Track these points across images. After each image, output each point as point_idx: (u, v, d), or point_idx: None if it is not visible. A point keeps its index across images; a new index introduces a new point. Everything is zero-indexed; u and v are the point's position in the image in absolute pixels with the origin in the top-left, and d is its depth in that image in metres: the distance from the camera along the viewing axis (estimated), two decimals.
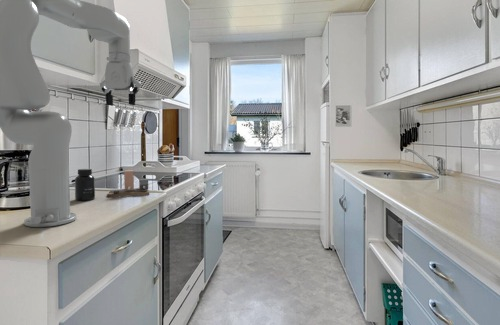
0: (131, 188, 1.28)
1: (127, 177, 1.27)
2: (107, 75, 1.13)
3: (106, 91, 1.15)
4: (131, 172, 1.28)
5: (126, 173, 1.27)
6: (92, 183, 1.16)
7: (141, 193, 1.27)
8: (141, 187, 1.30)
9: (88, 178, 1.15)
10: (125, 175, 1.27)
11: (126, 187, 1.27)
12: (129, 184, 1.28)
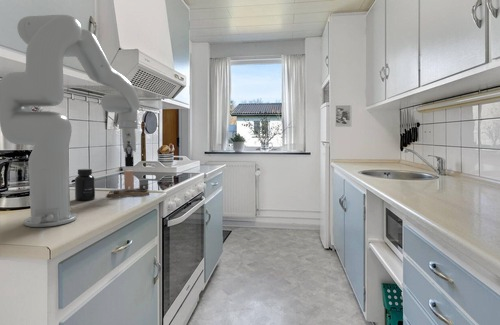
0: (131, 188, 1.28)
1: (127, 177, 1.27)
2: (135, 140, 1.26)
3: None
4: (131, 172, 1.28)
5: (126, 173, 1.27)
6: (92, 183, 1.16)
7: (141, 193, 1.27)
8: (141, 187, 1.30)
9: (88, 178, 1.15)
10: (125, 175, 1.27)
11: (126, 187, 1.27)
12: (129, 184, 1.28)
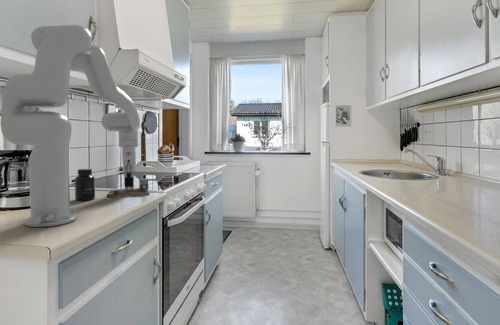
0: (131, 188, 1.28)
1: None
2: (135, 158, 1.26)
3: None
4: None
5: None
6: (92, 183, 1.16)
7: (141, 193, 1.27)
8: (141, 187, 1.30)
9: (88, 178, 1.15)
10: None
11: (126, 187, 1.27)
12: None
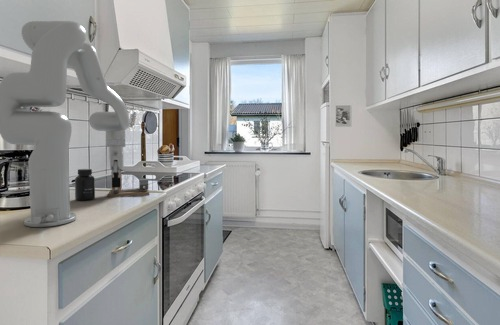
0: (118, 189, 1.26)
1: None
2: (122, 158, 1.24)
3: None
4: None
5: None
6: (92, 183, 1.16)
7: (141, 193, 1.27)
8: (141, 187, 1.30)
9: (88, 178, 1.15)
10: None
11: (113, 188, 1.25)
12: None
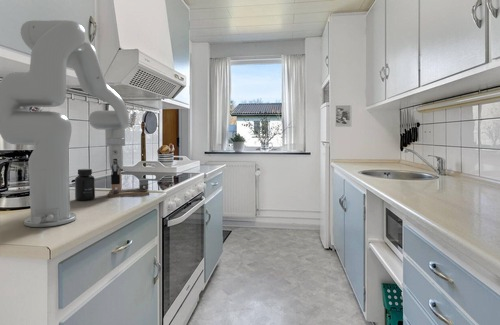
0: (118, 189, 1.26)
1: None
2: (122, 157, 1.24)
3: (118, 172, 1.22)
4: None
5: None
6: (92, 183, 1.16)
7: (141, 193, 1.27)
8: (141, 187, 1.30)
9: (88, 178, 1.15)
10: None
11: (113, 188, 1.25)
12: (116, 185, 1.26)
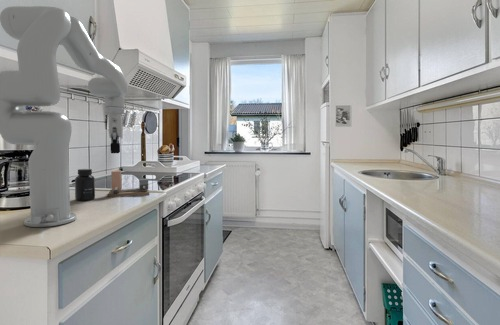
0: (118, 189, 1.26)
1: (114, 178, 1.25)
2: (121, 127, 1.23)
3: (118, 140, 1.22)
4: (118, 172, 1.26)
5: (113, 173, 1.25)
6: (92, 183, 1.16)
7: (141, 193, 1.27)
8: (141, 187, 1.30)
9: (88, 178, 1.15)
10: (112, 175, 1.25)
11: (113, 188, 1.25)
12: (116, 185, 1.26)
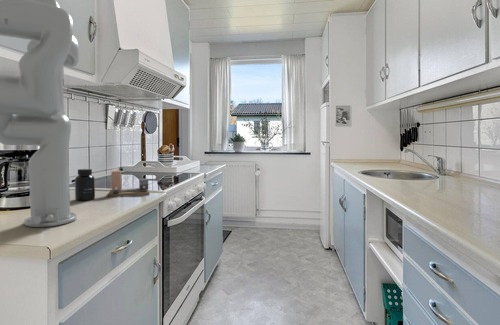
0: (118, 189, 1.26)
1: (114, 178, 1.25)
2: None
3: None
4: (118, 172, 1.26)
5: (113, 173, 1.25)
6: (92, 183, 1.16)
7: (141, 193, 1.27)
8: (141, 187, 1.30)
9: (88, 178, 1.15)
10: (112, 175, 1.25)
11: (113, 188, 1.25)
12: (116, 185, 1.26)
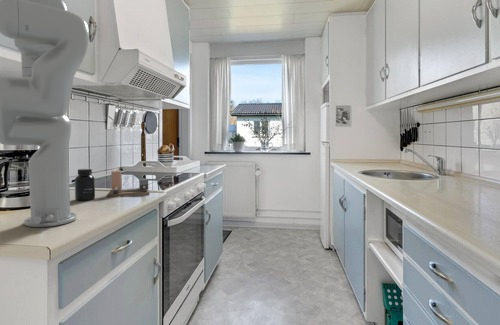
0: (118, 189, 1.26)
1: (114, 178, 1.25)
2: None
3: None
4: (118, 172, 1.26)
5: (113, 173, 1.25)
6: (92, 183, 1.16)
7: (141, 193, 1.27)
8: (141, 187, 1.30)
9: (88, 178, 1.15)
10: (112, 175, 1.25)
11: (113, 188, 1.25)
12: (116, 185, 1.26)
